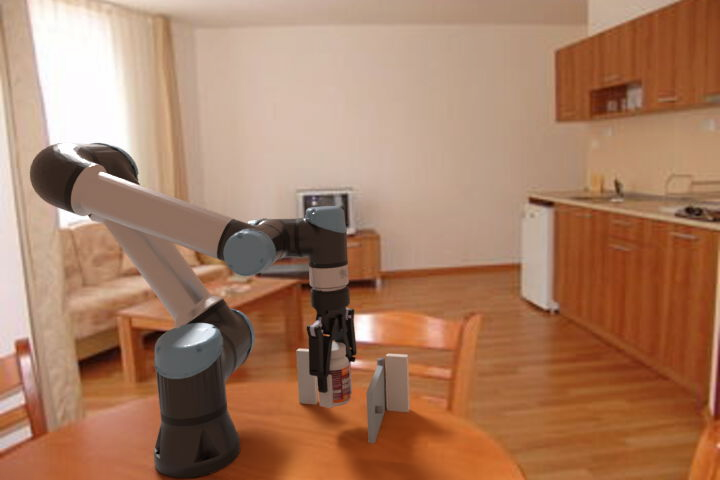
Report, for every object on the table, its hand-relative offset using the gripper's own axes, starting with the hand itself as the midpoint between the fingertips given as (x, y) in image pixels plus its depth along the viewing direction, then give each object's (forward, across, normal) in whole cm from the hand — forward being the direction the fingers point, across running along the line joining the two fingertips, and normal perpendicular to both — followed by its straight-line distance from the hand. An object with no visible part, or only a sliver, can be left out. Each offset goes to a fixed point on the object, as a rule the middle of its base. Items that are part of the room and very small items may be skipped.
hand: (336, 399), depth 113 cm
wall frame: (+5, +9, +2) cm, 10 cm away
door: (+6, +4, -8) cm, 10 cm away
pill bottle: (+1, 0, 0) cm, 1 cm away
